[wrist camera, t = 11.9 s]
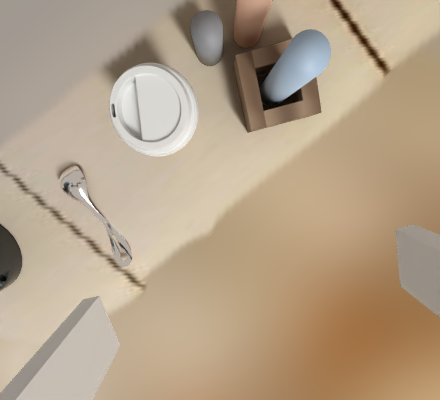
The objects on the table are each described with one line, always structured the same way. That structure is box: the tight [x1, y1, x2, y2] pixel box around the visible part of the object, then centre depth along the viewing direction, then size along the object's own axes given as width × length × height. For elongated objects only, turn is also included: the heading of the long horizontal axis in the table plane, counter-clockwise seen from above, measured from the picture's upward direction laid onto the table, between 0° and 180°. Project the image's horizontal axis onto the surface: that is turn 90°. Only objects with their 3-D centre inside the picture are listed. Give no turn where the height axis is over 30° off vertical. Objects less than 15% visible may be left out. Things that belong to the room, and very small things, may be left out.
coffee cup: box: [109, 63, 199, 156], centre depth 31 cm, size 10×10×15 cm
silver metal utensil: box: [59, 165, 132, 266], centre depth 41 cm, size 20×4×5 cm
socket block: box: [234, 39, 321, 132], centre depth 34 cm, size 10×10×5 cm
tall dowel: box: [259, 30, 331, 106], centre depth 29 cm, size 4×4×16 cm
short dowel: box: [190, 10, 223, 66], centre depth 32 cm, size 4×4×7 cm
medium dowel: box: [233, 0, 273, 48], centre depth 29 cm, size 4×4×11 cm
